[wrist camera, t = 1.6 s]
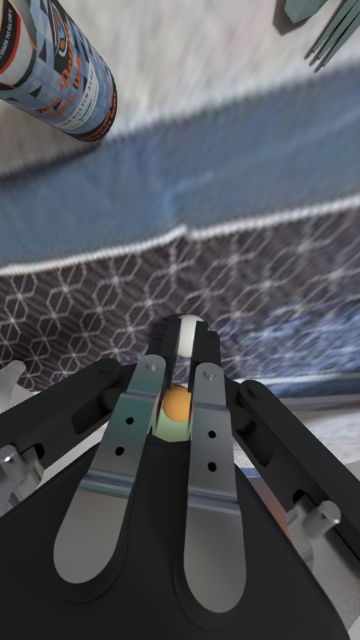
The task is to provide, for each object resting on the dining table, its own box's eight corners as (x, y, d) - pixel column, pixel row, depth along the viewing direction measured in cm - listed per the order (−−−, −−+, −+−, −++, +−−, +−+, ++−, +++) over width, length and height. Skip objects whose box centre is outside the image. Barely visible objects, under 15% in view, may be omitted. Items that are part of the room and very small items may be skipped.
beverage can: (89, 158, 22) (-10, 146, 12) (30, 70, 20) (-162, -39, 9) (138, 111, 20) (64, 49, 10) (79, 3, 17) (-108, -237, 7)
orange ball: (201, 385, 38) (200, 414, 34) (190, 404, 41) (187, 433, 36) (171, 375, 38) (165, 403, 33) (161, 394, 41) (155, 422, 36)
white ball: (216, 315, 30) (217, 340, 26) (200, 344, 33) (198, 371, 29) (178, 301, 30) (172, 324, 25) (165, 331, 33) (158, 357, 28)
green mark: (222, 422, 43) (222, 423, 43) (194, 455, 50) (194, 456, 50) (152, 398, 41) (152, 399, 41) (134, 436, 49) (134, 436, 49)
